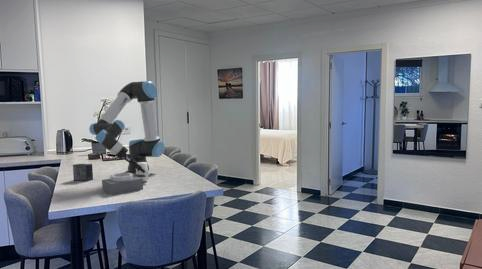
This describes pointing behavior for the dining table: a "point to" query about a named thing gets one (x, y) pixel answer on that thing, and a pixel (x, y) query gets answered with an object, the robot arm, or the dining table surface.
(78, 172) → the small box
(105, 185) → the octagonal socket base
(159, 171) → the dining table surface
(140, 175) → the white glossy rounded part
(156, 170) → the dining table surface
